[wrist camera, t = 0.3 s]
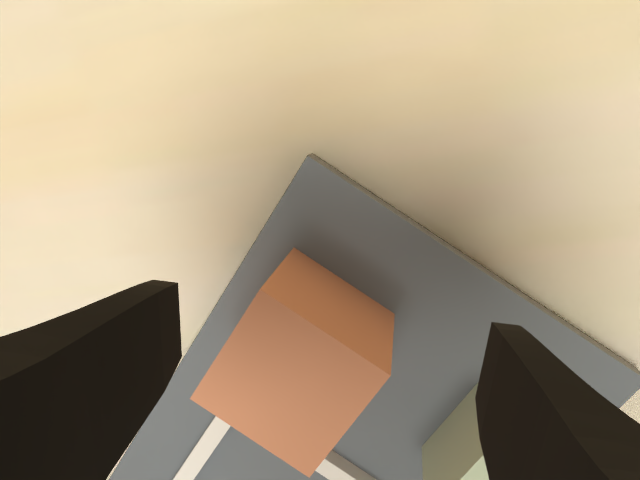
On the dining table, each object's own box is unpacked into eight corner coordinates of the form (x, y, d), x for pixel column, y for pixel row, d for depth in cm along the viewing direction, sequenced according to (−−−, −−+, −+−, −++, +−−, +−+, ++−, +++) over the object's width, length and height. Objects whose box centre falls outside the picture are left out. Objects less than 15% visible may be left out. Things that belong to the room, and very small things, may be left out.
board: (346, 658, 27) (342, 694, 26) (101, 495, 27) (81, 521, 26) (636, 367, 21) (657, 391, 19) (312, 153, 21) (303, 157, 19)
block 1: (330, 398, 22) (309, 477, 17) (236, 336, 22) (189, 398, 17) (394, 313, 21) (390, 375, 16) (293, 247, 21) (259, 288, 16)
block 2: (497, 497, 22) (515, 578, 18) (421, 446, 22) (424, 517, 18) (558, 435, 21) (591, 508, 17) (477, 382, 21) (493, 443, 17)
